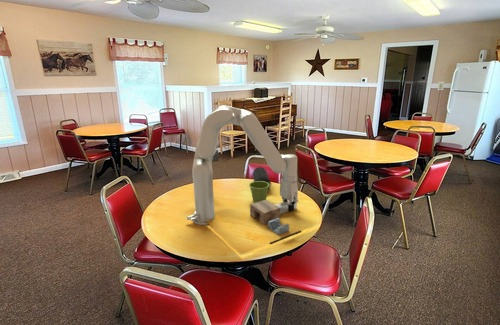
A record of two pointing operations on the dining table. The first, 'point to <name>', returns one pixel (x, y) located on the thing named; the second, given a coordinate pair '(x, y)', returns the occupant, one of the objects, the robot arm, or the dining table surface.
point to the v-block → (279, 229)
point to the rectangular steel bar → (285, 206)
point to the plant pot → (259, 190)
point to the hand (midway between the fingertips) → (288, 209)
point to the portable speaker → (261, 175)
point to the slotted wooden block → (264, 211)
